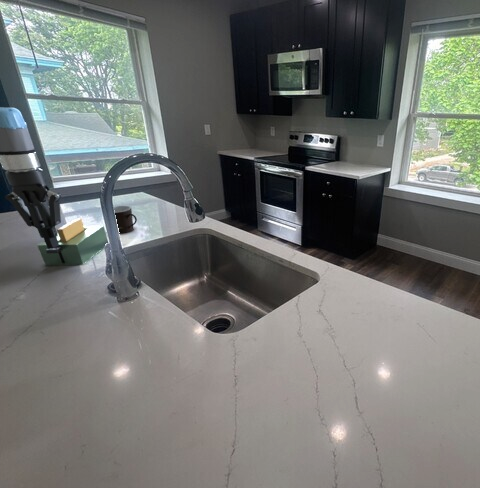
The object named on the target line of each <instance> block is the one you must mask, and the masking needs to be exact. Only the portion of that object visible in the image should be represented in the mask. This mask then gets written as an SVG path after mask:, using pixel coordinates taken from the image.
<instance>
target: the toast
mask: <svg viewBox="0 0 480 488" xmlns="http://www.w3.org/2000/svg"><path fill="white" fill-rule="evenodd" d="M84 226H85V225H84V223H83V220H82V218H74V219H73V220H71V221H69V222H67V223H65V224H64V225H62V226H60V227H58V228H56V231H57V234H59V237H60V240H61V242H68V241H70V240H71V239H73V238H74V237H76V236H77V235H79V234H80V233H82V232H83V231H85V229H84Z"/></svg>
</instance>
